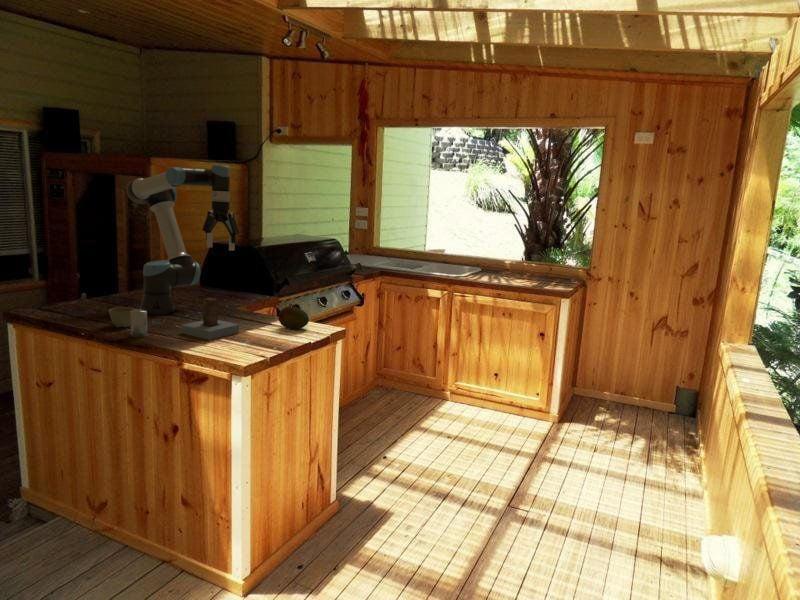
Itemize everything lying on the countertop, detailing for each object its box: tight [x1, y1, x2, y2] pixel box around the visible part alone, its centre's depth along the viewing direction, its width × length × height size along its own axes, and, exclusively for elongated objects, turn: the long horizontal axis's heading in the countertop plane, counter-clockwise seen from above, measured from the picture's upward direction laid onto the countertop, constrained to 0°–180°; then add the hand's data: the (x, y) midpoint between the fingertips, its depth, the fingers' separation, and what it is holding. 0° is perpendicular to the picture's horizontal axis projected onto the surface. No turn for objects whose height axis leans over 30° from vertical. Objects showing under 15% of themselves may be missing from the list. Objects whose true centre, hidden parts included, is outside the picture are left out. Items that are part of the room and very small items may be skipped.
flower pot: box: [108, 306, 136, 328], centre depth 251 cm, size 10×10×7 cm
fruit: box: [277, 306, 310, 330], centre depth 264 cm, size 12×12×10 cm
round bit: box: [130, 308, 149, 338], centre depth 238 cm, size 6×6×10 cm
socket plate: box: [180, 319, 240, 341], centre depth 249 cm, size 16×16×4 cm
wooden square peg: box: [202, 297, 219, 327], centre depth 248 cm, size 4×4×14 cm
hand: (220, 248), depth 270 cm, fingers open, 13 cm apart
